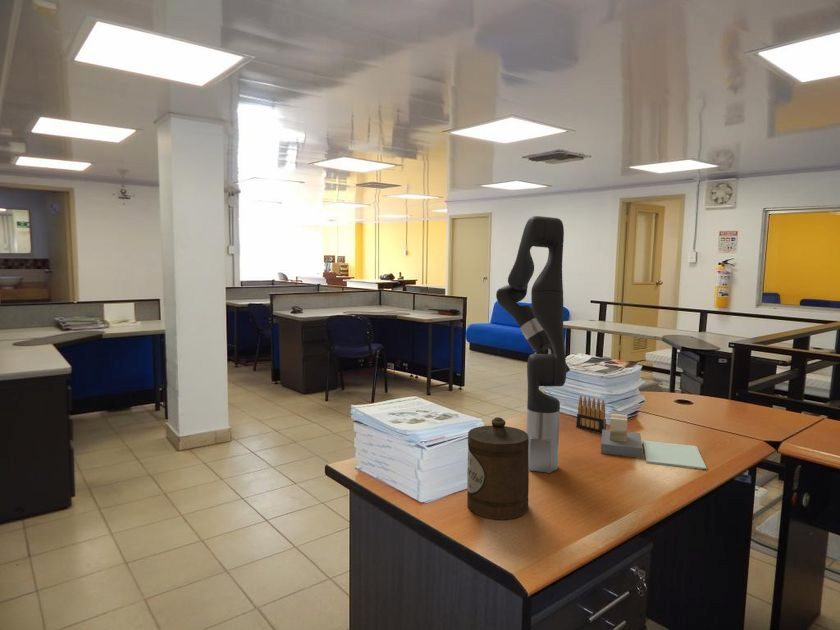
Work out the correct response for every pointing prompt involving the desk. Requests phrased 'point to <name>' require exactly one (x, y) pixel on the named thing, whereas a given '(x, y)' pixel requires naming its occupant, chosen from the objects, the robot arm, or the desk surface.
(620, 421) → the birch block
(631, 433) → the plate
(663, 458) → the mat
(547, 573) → the desk surface
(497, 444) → the wooden container
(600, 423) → the ammunition clip
